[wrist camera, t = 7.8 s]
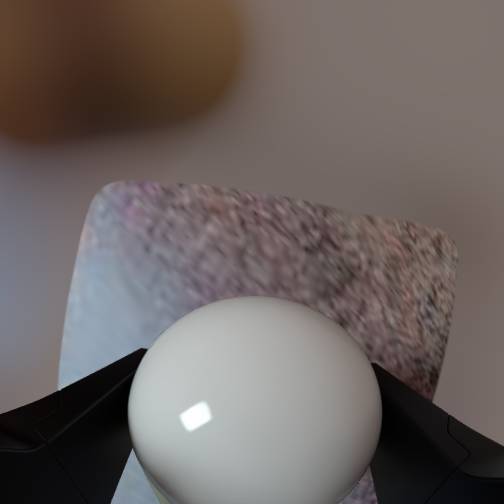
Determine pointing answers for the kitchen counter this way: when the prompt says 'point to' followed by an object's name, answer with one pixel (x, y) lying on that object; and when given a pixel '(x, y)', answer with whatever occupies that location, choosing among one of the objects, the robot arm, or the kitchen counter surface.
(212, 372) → the lightbulb
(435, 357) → the kitchen counter surface
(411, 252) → the kitchen counter surface
